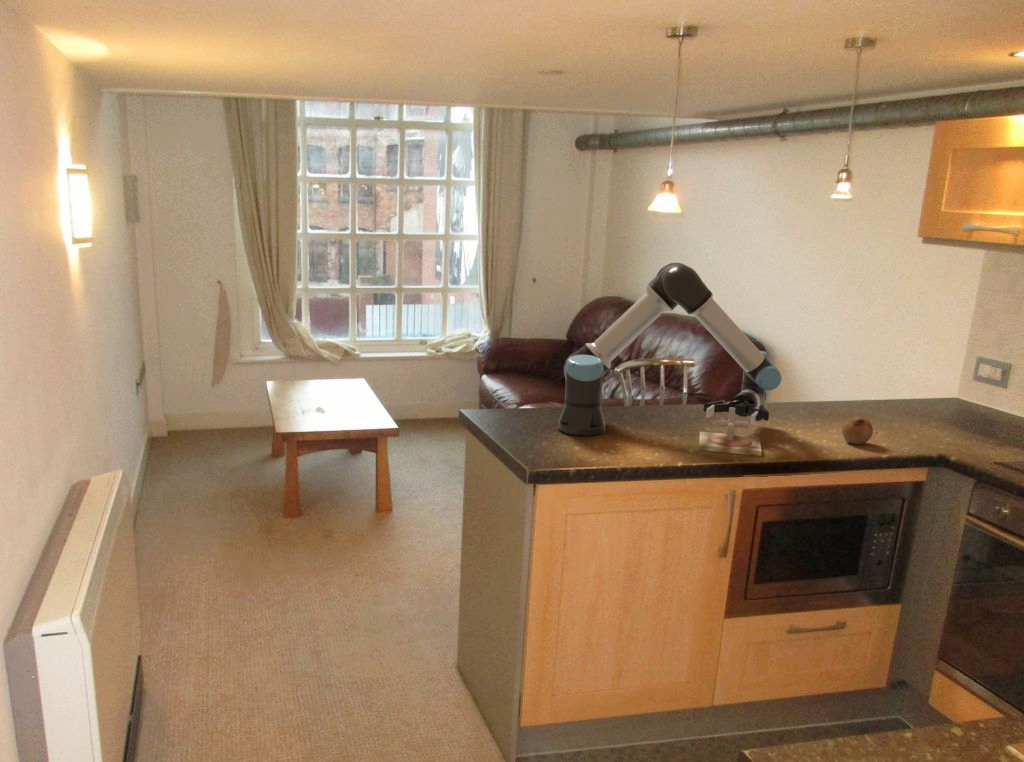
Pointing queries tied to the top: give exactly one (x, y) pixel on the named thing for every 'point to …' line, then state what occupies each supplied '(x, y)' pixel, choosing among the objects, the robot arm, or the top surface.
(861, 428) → the onion
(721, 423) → the grey toy jack
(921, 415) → the top surface
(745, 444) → the board
